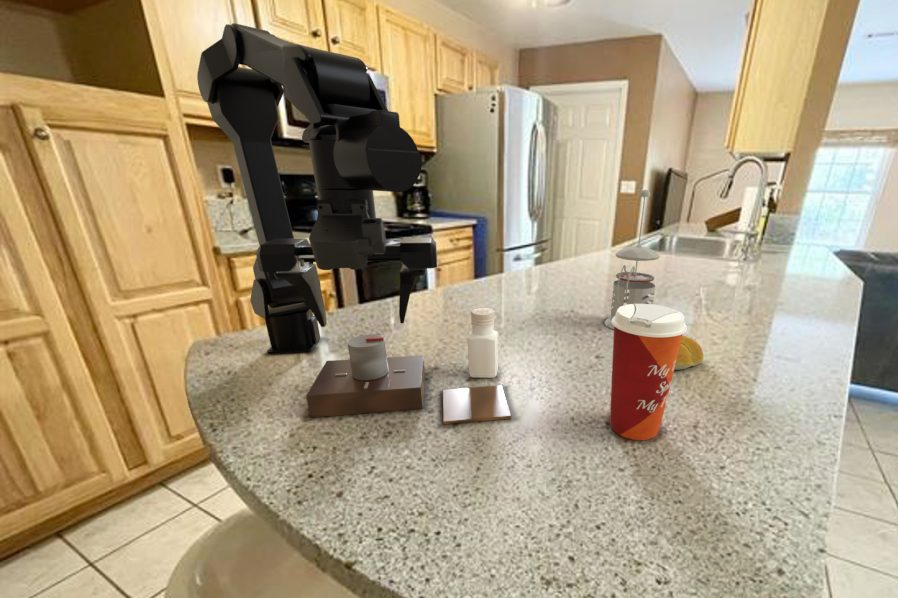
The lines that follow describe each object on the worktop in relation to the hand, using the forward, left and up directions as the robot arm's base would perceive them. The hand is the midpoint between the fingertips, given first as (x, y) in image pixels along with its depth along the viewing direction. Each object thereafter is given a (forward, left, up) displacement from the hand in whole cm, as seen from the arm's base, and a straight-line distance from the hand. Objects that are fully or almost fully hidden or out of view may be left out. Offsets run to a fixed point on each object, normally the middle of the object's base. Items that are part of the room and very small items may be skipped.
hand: (363, 324), depth 52 cm
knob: (0, 0, -7) cm, 7 cm away
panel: (0, 0, -10) cm, 10 cm away
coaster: (+13, -5, -10) cm, 17 cm away
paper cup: (+31, -13, -10) cm, 35 cm away
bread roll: (+45, +4, -10) cm, 46 cm away
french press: (+45, +21, -10) cm, 51 cm away
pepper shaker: (+15, +4, -10) cm, 18 cm away
